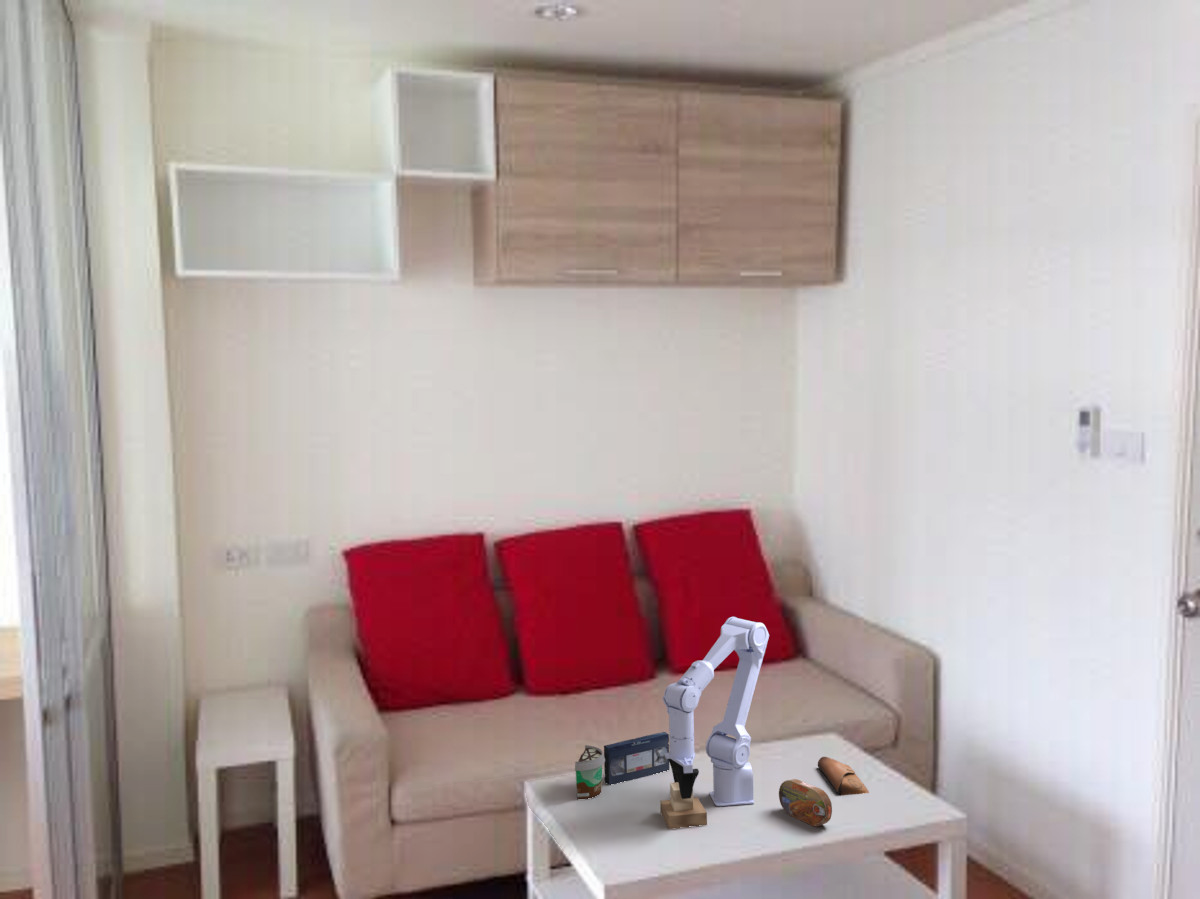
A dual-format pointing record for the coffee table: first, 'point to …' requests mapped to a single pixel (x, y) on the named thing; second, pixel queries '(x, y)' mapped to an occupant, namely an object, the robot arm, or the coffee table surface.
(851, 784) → the sunglasses case
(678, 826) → the tan flat block
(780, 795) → the tin
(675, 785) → the maple cube
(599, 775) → the food container
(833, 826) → the coffee table surface
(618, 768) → the vhs cassette tape
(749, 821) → the coffee table surface
